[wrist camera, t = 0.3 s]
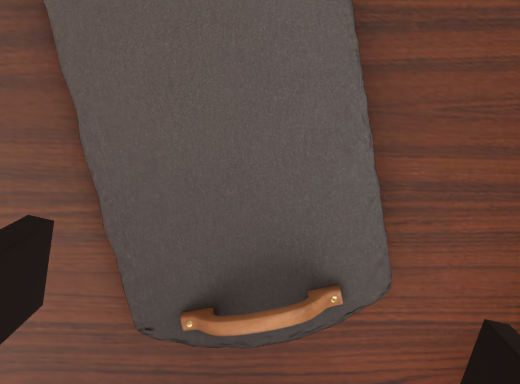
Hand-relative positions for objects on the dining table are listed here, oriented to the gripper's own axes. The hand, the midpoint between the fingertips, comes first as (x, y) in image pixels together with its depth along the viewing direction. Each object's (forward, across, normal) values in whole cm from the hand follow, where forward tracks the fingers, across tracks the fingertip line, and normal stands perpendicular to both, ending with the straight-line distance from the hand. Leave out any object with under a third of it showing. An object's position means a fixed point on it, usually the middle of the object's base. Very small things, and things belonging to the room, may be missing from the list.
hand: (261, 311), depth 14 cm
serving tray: (+27, -4, +2) cm, 27 cm away
